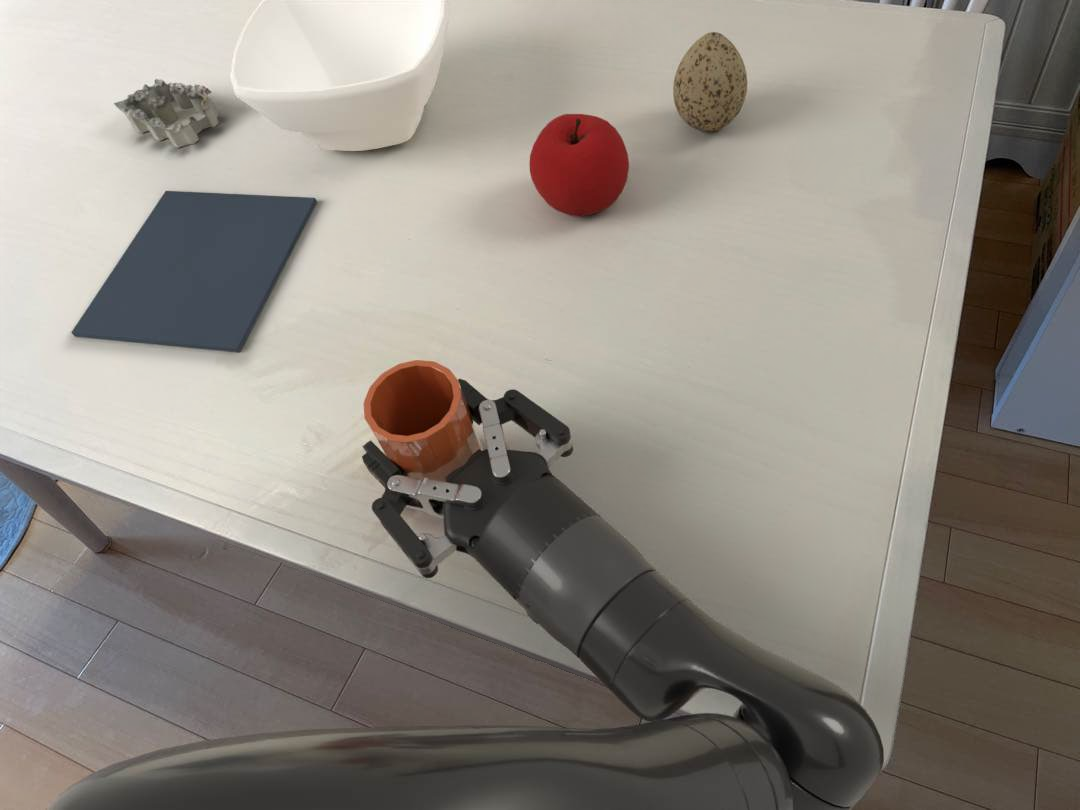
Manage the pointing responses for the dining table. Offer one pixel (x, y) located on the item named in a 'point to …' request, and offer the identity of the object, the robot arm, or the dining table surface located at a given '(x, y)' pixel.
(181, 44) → the dining table surface
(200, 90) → the grey jagged stone ring
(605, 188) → the apple
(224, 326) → the mat
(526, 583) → the robot arm
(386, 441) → the cup
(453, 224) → the dining table surface
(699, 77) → the decorative egg
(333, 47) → the bowl
